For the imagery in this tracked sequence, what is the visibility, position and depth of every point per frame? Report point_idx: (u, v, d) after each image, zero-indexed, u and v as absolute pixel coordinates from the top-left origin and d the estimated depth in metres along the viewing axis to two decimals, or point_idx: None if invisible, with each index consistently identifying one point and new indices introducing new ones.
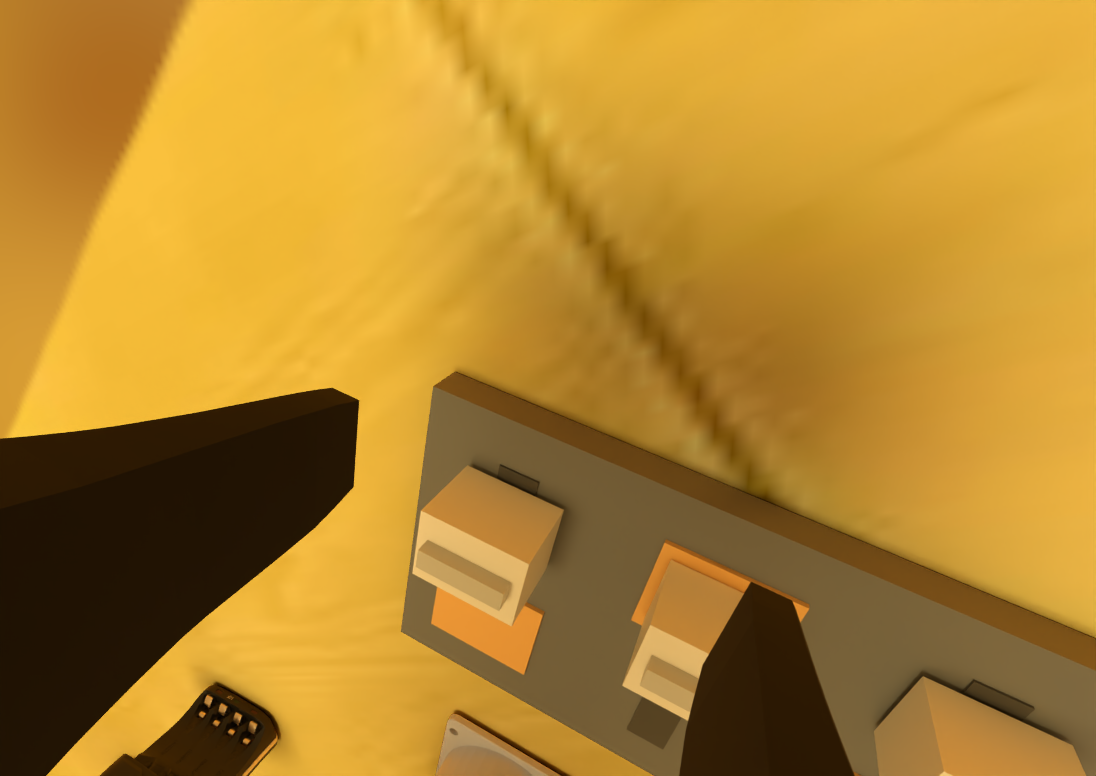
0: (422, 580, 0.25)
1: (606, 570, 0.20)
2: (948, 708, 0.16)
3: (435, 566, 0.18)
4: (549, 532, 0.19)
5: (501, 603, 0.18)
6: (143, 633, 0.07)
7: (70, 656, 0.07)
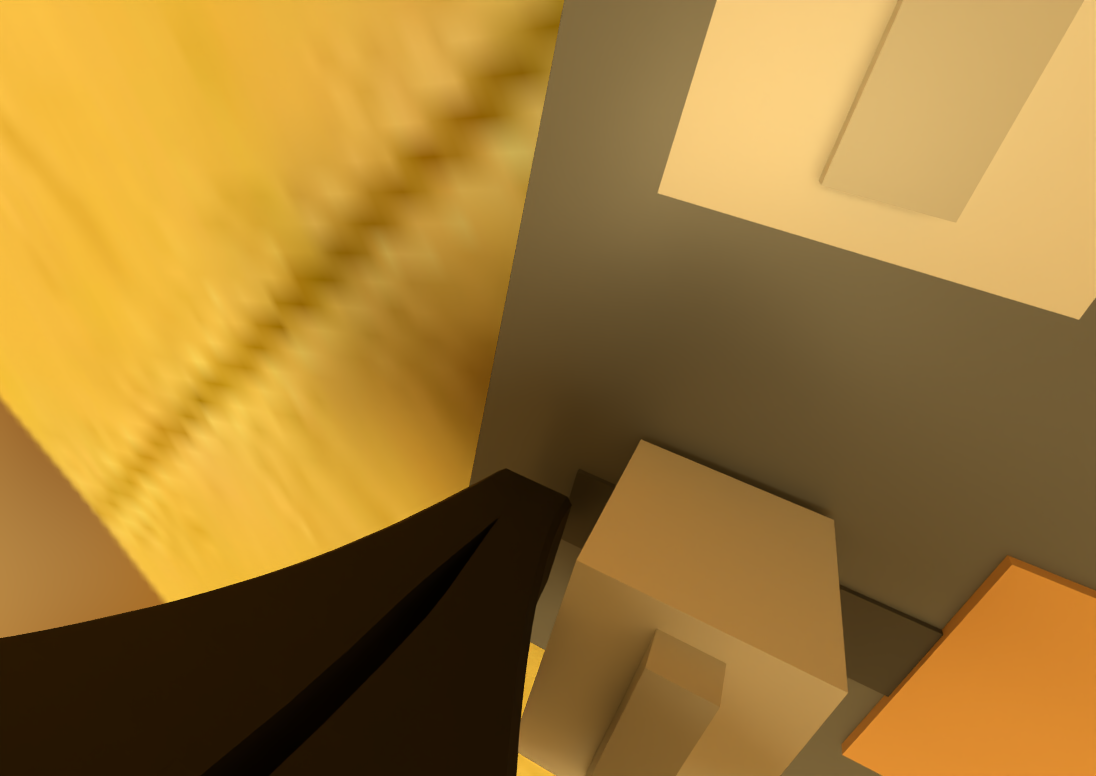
0: None
1: (802, 353, 0.08)
2: None
3: None
4: (622, 483, 0.08)
5: (691, 687, 0.06)
6: None
7: None
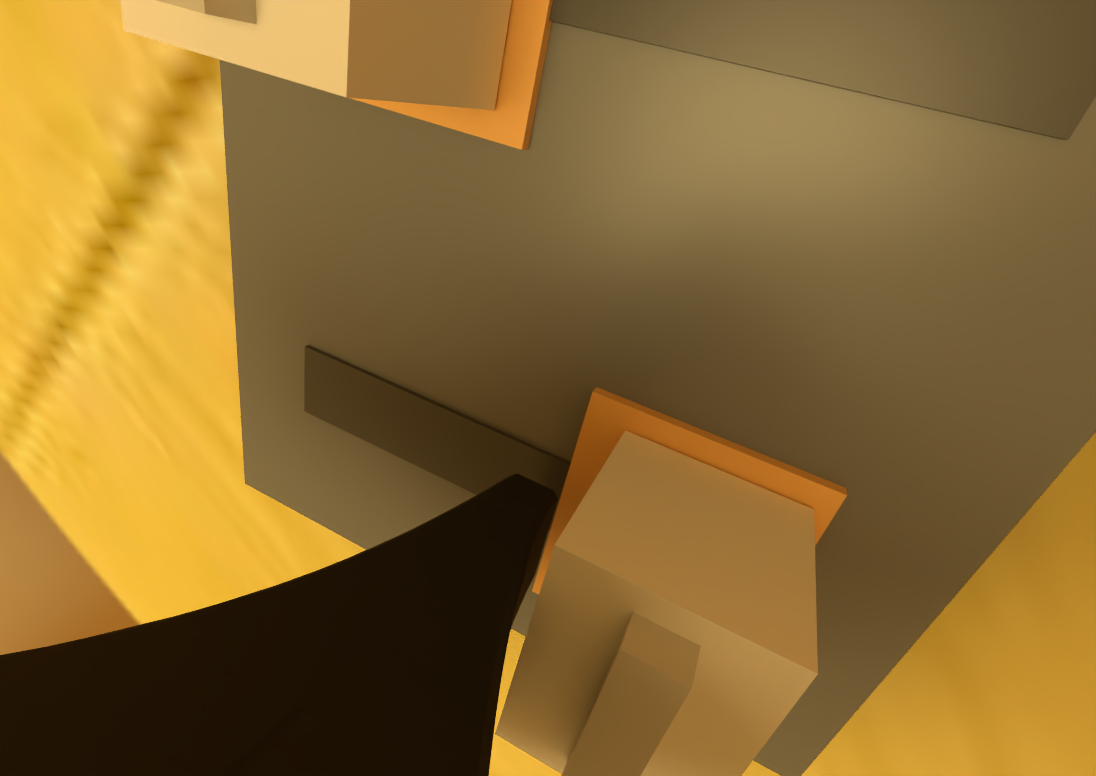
0: None
1: (427, 219, 0.09)
2: None
3: None
4: (603, 472, 0.08)
5: (664, 668, 0.06)
6: None
7: None
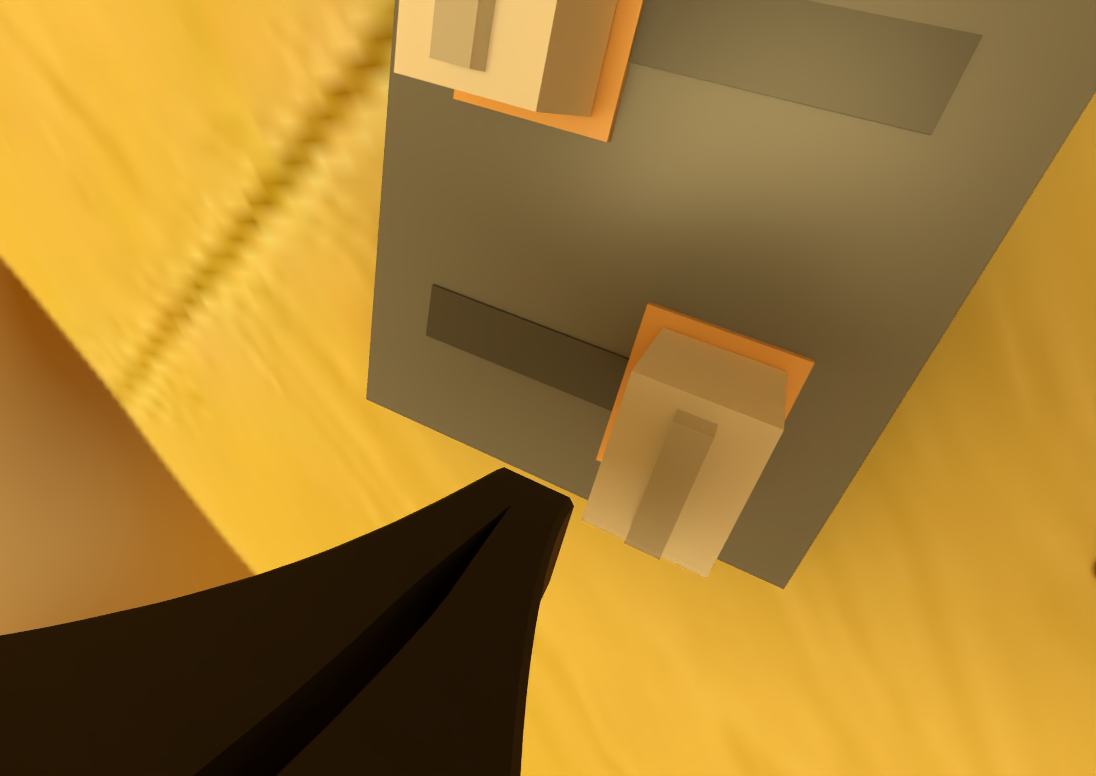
0: None
1: (535, 189, 0.14)
2: None
3: (648, 524, 0.12)
4: (653, 345, 0.12)
5: (698, 430, 0.10)
6: None
7: None
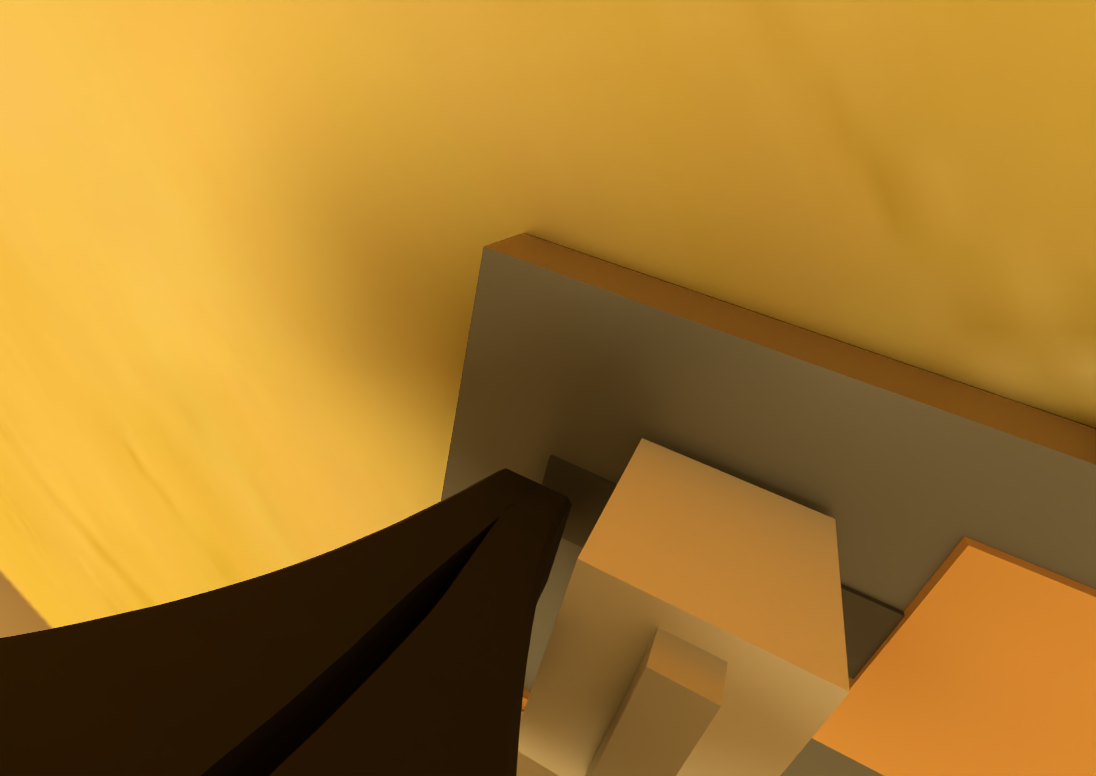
0: None
1: None
2: None
3: None
4: None
5: None
6: None
7: None
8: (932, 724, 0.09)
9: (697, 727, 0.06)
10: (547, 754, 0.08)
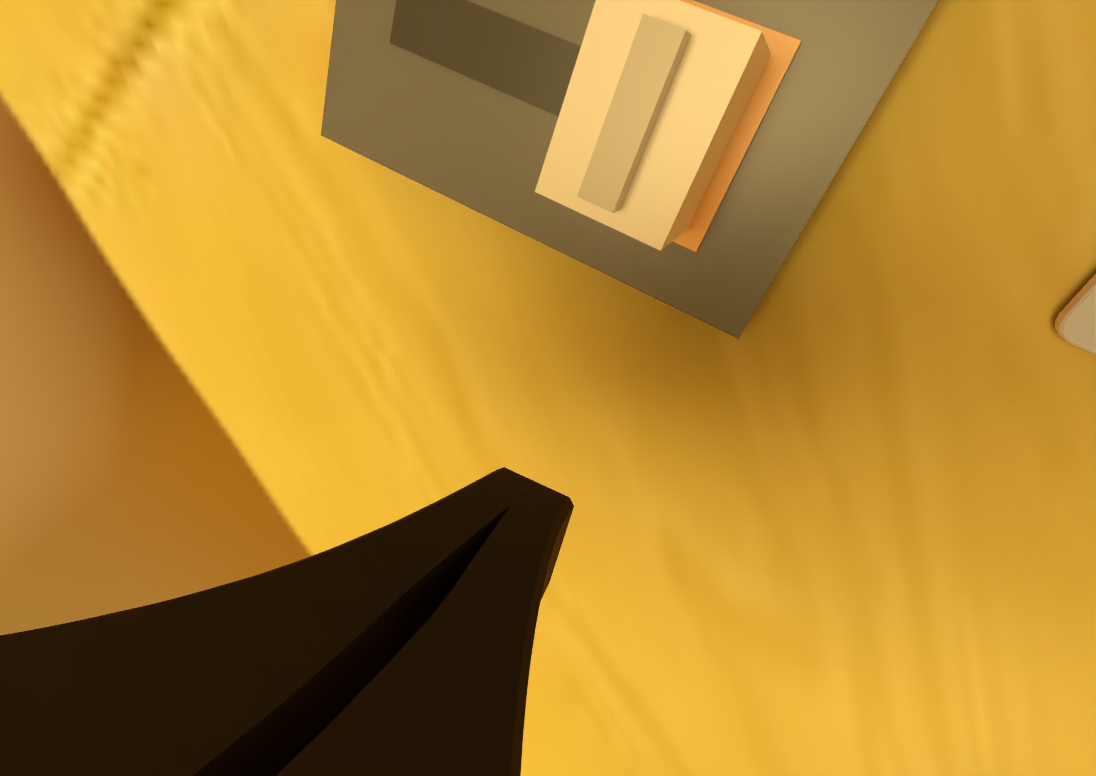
0: (610, 248, 0.15)
1: None
2: None
3: (604, 166, 0.11)
4: None
5: (669, 24, 0.09)
6: None
7: None
8: None
9: None
10: None
